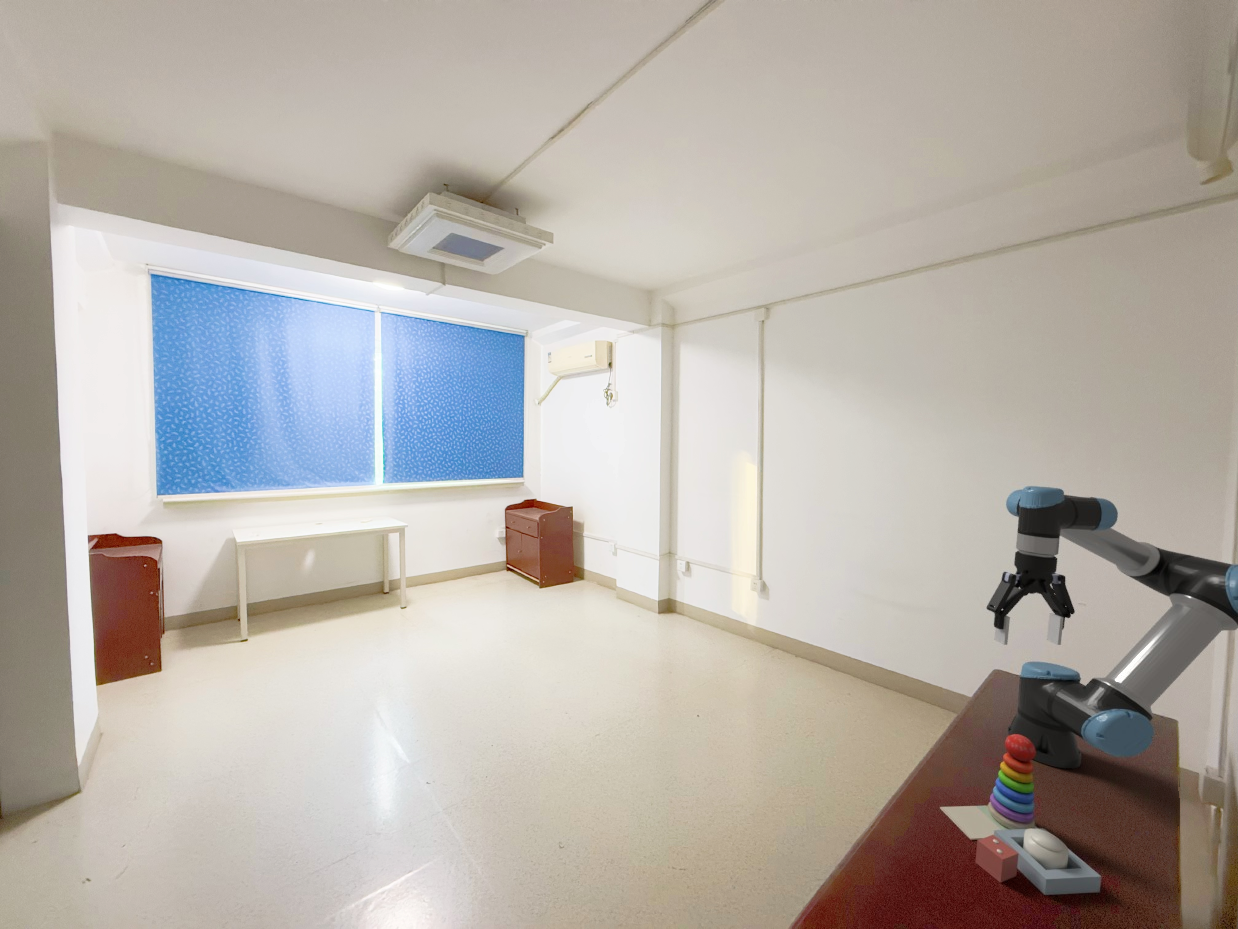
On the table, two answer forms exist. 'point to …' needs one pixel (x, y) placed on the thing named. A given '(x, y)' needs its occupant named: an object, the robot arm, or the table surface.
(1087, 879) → the dome base
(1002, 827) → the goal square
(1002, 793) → the stacking toy
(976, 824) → the square
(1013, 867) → the pink rectangular block
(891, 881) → the table surface
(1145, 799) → the table surface
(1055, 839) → the dome button
